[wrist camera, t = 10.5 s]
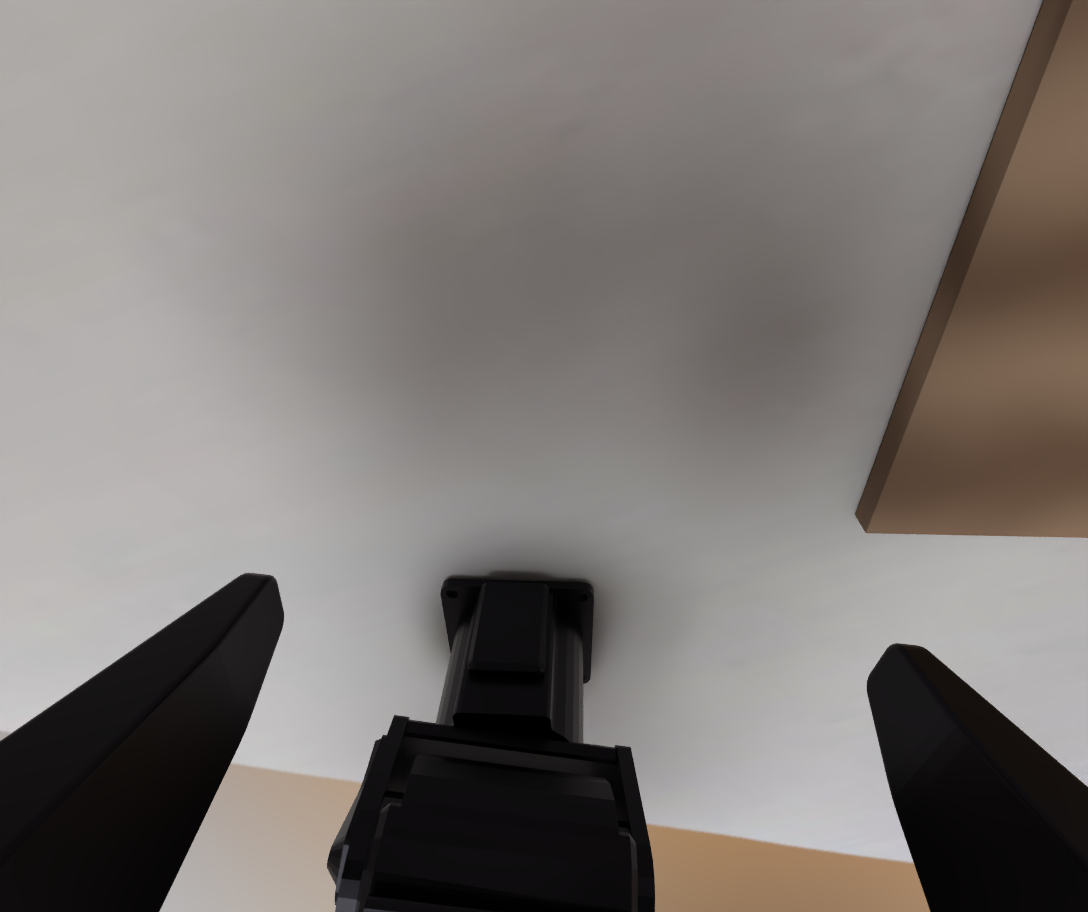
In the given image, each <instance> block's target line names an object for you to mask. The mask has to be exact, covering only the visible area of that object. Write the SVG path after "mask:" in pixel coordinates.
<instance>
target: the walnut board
mask: <svg viewBox="0 0 1088 912" xmlns="http://www.w3.org/2000/svg"><path fill="white" fill-rule="evenodd" d="M855 516H856V517H857V519H858V521H859V522H860V524H861V526H862V527H863V529H864V531H865V532H866V533H888V534H936V535H985V536H1033V537H1081V538H1088V0H1044V1H1043V4H1042V7H1041V9H1040V12H1039V15H1038V17H1037V20H1036V23H1035V26H1034V28H1033V31H1032V34H1031V37H1030V39H1029V42H1028V45H1027V48H1026V50H1025V53H1024V56H1023V58H1022V61H1021V64H1020V67H1019V69H1018V72H1017V75H1016V78H1015V80H1014V83H1013V86H1012V89H1011V91H1010V94H1009V97H1008V99H1007V102H1006V105H1005V108H1004V110H1003V113H1002V116H1001V119H1000V121H999V124H998V127H997V130H996V132H995V135H994V138H993V140H992V143H991V146H990V149H989V151H988V154H987V157H986V160H985V162H984V165H983V168H982V171H981V173H980V176H979V179H978V181H977V184H976V187H975V190H974V192H973V195H972V198H971V201H970V203H969V206H968V209H967V212H966V214H965V217H964V220H963V222H962V225H961V228H960V231H959V233H958V236H957V239H956V242H955V244H954V247H953V250H952V253H951V255H950V258H949V261H948V263H947V266H946V269H945V272H944V274H943V277H942V280H941V283H940V285H939V288H938V291H937V294H936V296H935V299H934V302H933V304H932V307H931V310H930V313H929V315H928V318H927V321H926V324H925V326H924V329H923V332H922V335H921V337H920V340H919V343H918V345H917V348H916V351H915V354H914V356H913V359H912V362H911V365H910V367H909V370H908V373H907V376H906V378H905V381H904V384H903V386H902V389H901V392H900V395H899V397H898V400H897V403H896V406H895V408H894V411H893V414H892V417H891V419H890V422H889V425H888V427H887V430H886V433H885V436H884V438H883V441H882V444H881V447H880V449H879V452H878V455H877V457H876V460H875V463H874V466H873V468H872V471H871V474H870V477H869V479H868V482H867V485H866V488H865V490H864V493H863V496H862V498H861V501H860V504H859V507H858V509H857V512H856V515H855Z"/></svg>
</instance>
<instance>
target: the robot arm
mask: <svg viewBox="0 0 1088 912" xmlns="http://www.w3.org/2000/svg"><path fill="white" fill-rule="evenodd" d="M451 590H455V591H451ZM580 593H583V594H582V595H581V594H580ZM441 599H442V605H443V611H444V617H445V622H446V628H447V634H448V640H449V646H450V652H451V656H450V660H449V665H448V670H447V674H446V679H445V683H444V688H443V692H442V697H441V702H440V706H439V711H438V715H437V720H436V723H429V722H422V721H414V720H409V717H405V716H398V715H394V718H393V720H392V723H391V726H390V729H389V731H388V734H387V735H383V736H382V738H381V739H379V740H377V741H375V744H374V747H373V751H372V754H371V757H370V761H369V764H368V767H367V771H366V774H365V777H364V780H363V783H362V785H361V788H360V790H359V792H358V795H357V797H356V799H355V801H354V803H353V805H352V807H351V809H350V811H349V813H348V815H347V817H346V819H345V821H344V823H343V825H342V827H341V829H340V831H339V833H338V835H337V837H336V839H335V841H334V843H333V845H332V847H331V850H330V853H329V857H328V863H327V868H328V870H329V872H330V874H331V876H332V878H333V880H334V882H335V884H336V892H335V905H336V910H335V912H655V884H654V869H653V859H652V853H651V847H650V841H649V836H648V831H647V826H646V821H645V816H644V811H643V806H642V801H641V797H640V792H639V787H638V782H637V777H636V772H635V767H634V762H633V757H632V752H631V748H630V747H626V746H618V745H615V747H614V748H613V747H606V746H599V745H591V744H584V743H583V684H585V683H587V682H588V681H589V680H590V675H591V651H592V628H593V604H594V590H593V587H592V586H591V585H590V584H588V583H584V582H559V581H520V580H481V579H448V580H446V581H444V583H443V585H442V589H441ZM283 622H284V611H283V607H282V602H281V598H280V593H279V589H278V584H277V581H276V579H275V578H274V577H273V576H271V575H265V574H256V573H245V574H243V575H240V576H239V577H237V578H236V579H234V580H233V581H231V582H230V583H228V584H227V585H226V586H224V587H223V588H221V589H220V590H218V591H217V592H215V593H214V594H213V595H211V596H210V597H208V598H207V599H205V600H204V601H202V602H201V603H199V604H198V605H197V606H195V607H194V608H192V609H191V610H189V611H188V612H186V613H185V614H184V615H182V616H181V617H179V618H178V619H176V620H175V621H173V622H172V623H170V624H169V625H168V626H166V627H165V628H163V629H162V630H160V631H159V632H157V633H156V634H155V635H153V636H152V637H150V638H149V639H147V640H146V641H144V642H143V643H142V644H140V645H139V646H137V647H136V648H134V649H133V650H131V651H130V652H128V653H127V654H126V655H124V656H123V657H121V658H120V659H118V660H117V661H115V662H114V663H113V664H111V665H110V666H108V667H107V668H105V669H104V670H102V671H101V672H100V673H98V674H97V675H95V676H94V677H92V678H91V679H89V680H88V681H86V682H85V683H84V684H82V685H81V686H79V687H78V688H76V689H75V690H73V691H72V692H71V693H69V694H68V695H66V696H65V697H63V698H62V699H60V700H59V701H58V702H56V703H55V704H53V705H52V706H50V707H49V708H47V709H46V710H44V711H43V712H42V713H40V714H39V715H37V716H36V717H34V718H33V719H31V720H30V721H29V722H27V723H26V724H24V725H23V726H21V727H20V728H18V729H17V730H16V731H14V732H13V733H11V734H10V735H8V736H7V737H5V738H4V739H2V740H1V741H0V912H159V911H160V909H161V907H162V905H163V903H164V901H165V899H166V896H167V894H168V892H169V890H170V888H171V886H172V884H173V882H174V880H175V878H176V876H177V874H178V871H179V869H180V867H181V865H182V863H183V861H184V859H185V857H186V855H187V853H188V850H189V848H190V846H191V844H192V842H193V840H194V838H195V836H196V834H197V832H198V830H199V827H200V825H201V823H202V821H203V819H204V817H205V815H206V813H207V811H208V809H209V807H210V805H211V802H212V801H213V798H214V796H215V794H216V792H217V790H218V788H219V786H220V784H221V782H222V779H223V778H224V775H225V773H226V771H227V769H228V767H229V765H230V763H231V761H232V759H233V757H234V755H235V753H236V750H237V748H238V746H239V744H240V742H241V740H242V737H243V735H244V733H245V731H246V728H247V725H248V723H249V720H250V718H251V715H252V712H253V710H254V707H255V704H256V701H257V698H258V695H259V693H260V690H261V687H262V684H263V681H264V679H265V676H266V673H267V670H268V667H269V664H270V662H271V659H272V656H273V653H274V650H275V648H276V645H277V642H278V639H279V636H280V633H281V631H282V627H283ZM867 694H868V698H869V703H870V707H871V711H872V715H873V720H874V724H875V728H876V733H877V737H878V741H879V745H880V750H881V754H882V758H883V763H884V767H885V771H886V775H887V780H888V784H889V787H890V791H891V795H892V799H893V802H894V805H895V808H896V811H897V814H898V818H899V820H900V823H901V826H902V829H903V832H904V835H905V838H906V841H907V844H908V847H909V850H910V853H911V856H912V859H913V862H914V865H915V868H916V871H917V873H918V876H919V879H920V882H921V885H922V888H923V891H924V894H925V897H926V900H927V903H928V905H929V909H930V912H1088V787H1087V786H1086V785H1085V784H1084V783H1083V782H1081V781H1080V780H1079V779H1078V778H1077V777H1076V776H1074V775H1073V774H1072V773H1071V772H1070V771H1069V770H1067V769H1066V768H1065V767H1064V766H1063V765H1061V764H1060V763H1059V762H1058V761H1057V760H1056V759H1054V758H1053V757H1052V756H1051V755H1050V754H1049V753H1047V752H1046V751H1045V750H1044V749H1043V748H1042V747H1040V746H1039V745H1038V744H1037V743H1036V742H1035V741H1033V740H1032V739H1031V738H1030V737H1029V736H1028V735H1026V734H1025V733H1024V732H1023V731H1022V730H1021V729H1019V728H1018V727H1017V726H1016V725H1015V724H1014V723H1012V722H1011V721H1010V720H1009V719H1008V718H1007V717H1005V716H1004V715H1003V714H1002V713H1001V712H1000V711H998V710H997V709H996V708H995V707H994V706H993V705H991V704H990V703H989V702H988V701H987V700H985V699H984V698H983V697H982V696H981V695H980V694H978V693H977V692H976V691H975V690H974V689H973V688H971V687H970V686H969V685H968V684H967V683H966V682H964V681H963V680H962V679H961V678H960V677H959V676H957V675H956V674H955V673H954V672H953V671H952V670H950V669H949V668H948V667H947V666H946V665H945V664H943V663H942V662H941V661H940V660H939V659H938V658H936V657H935V656H934V655H933V654H932V653H931V652H929V651H928V650H927V649H925V648H923V647H921V646H916V645H908V644H899V643H896V644H892V645H890V646H889V647H888V648H887V649H886V651H885V652H884V654H883V655H882V657H881V658H880V660H879V661H878V663H877V664H876V666H875V667H874V669H873V670H872V672H871V673H870V675H869V677H868V680H867Z"/></svg>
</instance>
